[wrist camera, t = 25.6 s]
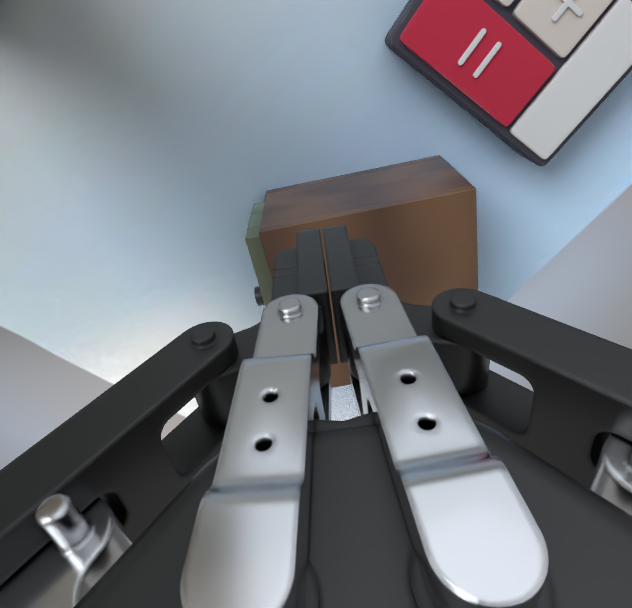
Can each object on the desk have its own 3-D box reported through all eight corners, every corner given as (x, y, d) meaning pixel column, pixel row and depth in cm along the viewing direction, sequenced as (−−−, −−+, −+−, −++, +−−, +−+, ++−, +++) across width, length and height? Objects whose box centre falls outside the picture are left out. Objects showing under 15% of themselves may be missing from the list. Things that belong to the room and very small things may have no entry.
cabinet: (302, 331, 47) (303, 393, 39) (266, 190, 39) (258, 231, 32) (448, 304, 46) (479, 362, 38) (440, 154, 38) (476, 188, 30)
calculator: (509, -144, 26) (676, 29, 30) (486, -121, 30) (637, 30, 34) (388, 41, 31) (547, 171, 35) (380, 42, 35) (525, 159, 39)
